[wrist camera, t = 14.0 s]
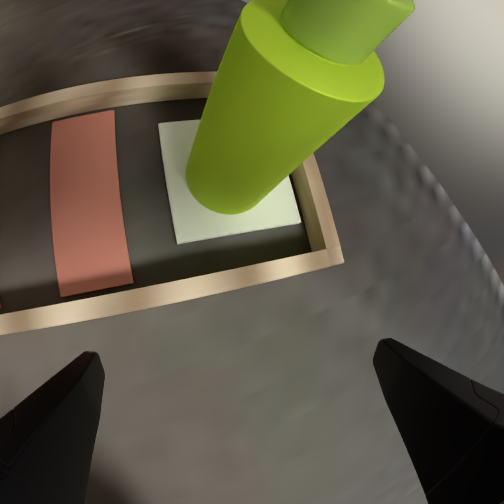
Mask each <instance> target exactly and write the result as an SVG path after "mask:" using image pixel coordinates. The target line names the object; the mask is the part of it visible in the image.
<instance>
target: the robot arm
mask: <svg viewBox="0 0 504 504" xmlns="http://www.w3.org/2000/svg"><path fill="white" fill-rule="evenodd" d="M373 365H374V368H375V371H376V374H377V377H378V380H379V383H380V386H381V389H382V392H383V395H384V398H385V400H386V403H387V405H388V407H389V409H390V412H391V414H392V416H393V418H394V421H395V423H396V425H397V427H398V430H399V432H400V434H401V437H402V439H403V441H404V444H405V446H406V448H407V451H408V453H409V456H410V458H411V460H412V463H413V465H414V468H415V470H416V473H417V475H418V478H419V480H420V483H421V485H422V488H423V490H424V493H425V495H426V499H427V501H428V504H504V394H502V393H500V392H498V391H495V390H493V389H490V388H488V387H486V386H484V385H482V384H480V383H478V382H476V381H474V380H472V379H471V380H470V378H468V377H466V376H464V375H462V374H460V373H458V372H456V371H454V370H452V369H450V368H448V367H446V366H444V365H443V364H441V363H439V362H437V361H435V360H433V359H431V358H429V357H427V356H425V355H423V354H421V353H419V352H417V351H415V350H413V349H411V348H409V347H408V346H406V345H404V344H402V343H400V342H398V341H396V340H394V339H392V338H386V339H381V340H380V341H379V342H378V345H377V348H376V351H375V354H374V357H373ZM104 380H105V373H104V369H103V366H102V363H101V360H100V357H99V355H98V353H97V352H91V351H85V352H83V353H82V354H81V355H79V356H78V357H77V358H76V359H74V360H73V361H72V362H70V363H69V364H68V365H67V366H65V367H64V368H63V369H62V370H60V371H59V372H58V373H57V374H55V375H54V376H53V377H52V378H50V379H49V380H48V381H46V382H45V383H44V384H43V385H41V386H40V387H39V388H38V389H37V390H35V391H34V392H33V393H32V394H30V395H29V396H28V397H27V398H25V399H24V400H23V401H22V402H20V403H19V404H18V405H17V406H15V407H14V410H13V409H12V410H10V411H9V412H8V413H7V414H6V415H4V416H3V417H2V418H1V419H0V504H85V497H86V490H87V483H88V477H89V471H90V465H91V459H92V454H93V449H94V444H95V439H96V434H97V429H98V425H99V420H100V413H101V403H102V395H103V387H104Z"/></svg>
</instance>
